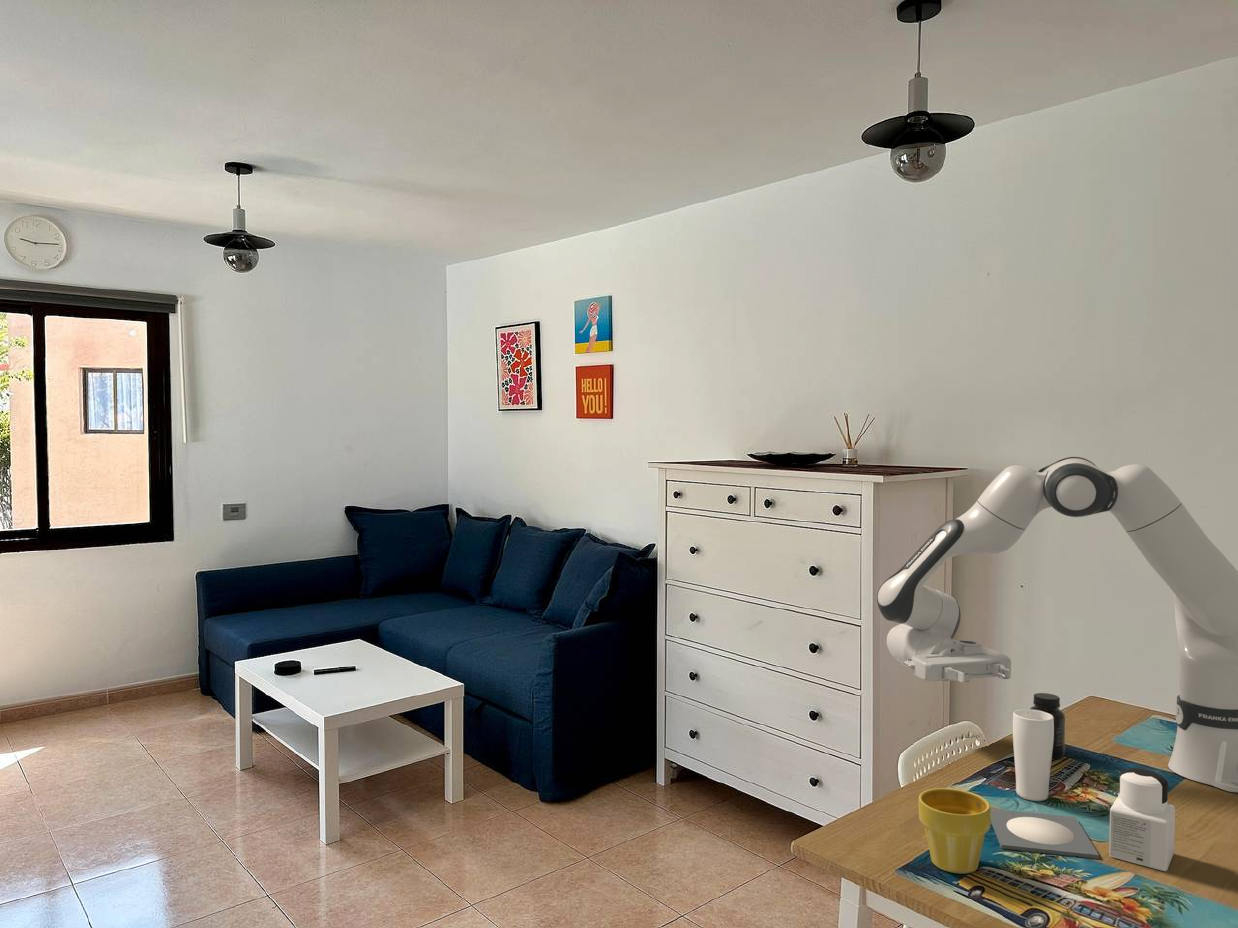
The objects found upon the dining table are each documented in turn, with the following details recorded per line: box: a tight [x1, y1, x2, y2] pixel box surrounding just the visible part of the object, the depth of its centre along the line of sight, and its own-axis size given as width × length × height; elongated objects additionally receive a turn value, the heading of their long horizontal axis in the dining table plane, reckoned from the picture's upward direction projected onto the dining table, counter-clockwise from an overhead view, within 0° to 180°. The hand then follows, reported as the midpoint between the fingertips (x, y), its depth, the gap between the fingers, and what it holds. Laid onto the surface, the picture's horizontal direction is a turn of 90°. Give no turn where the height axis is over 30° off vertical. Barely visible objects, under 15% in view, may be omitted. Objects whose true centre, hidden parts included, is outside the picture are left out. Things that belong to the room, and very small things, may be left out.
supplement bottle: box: [1029, 692, 1066, 760], centre depth 180 cm, size 7×7×12 cm
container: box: [1108, 767, 1176, 872], centre depth 136 cm, size 8×8×13 cm
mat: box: [990, 808, 1100, 860], centre depth 144 cm, size 14×14×1 cm
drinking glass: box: [1012, 708, 1054, 802], centre depth 158 cm, size 7×7×15 cm
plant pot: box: [917, 787, 992, 875], centre depth 134 cm, size 10×10×10 cm
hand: (987, 676), depth 170 cm, fingers open, 8 cm apart
